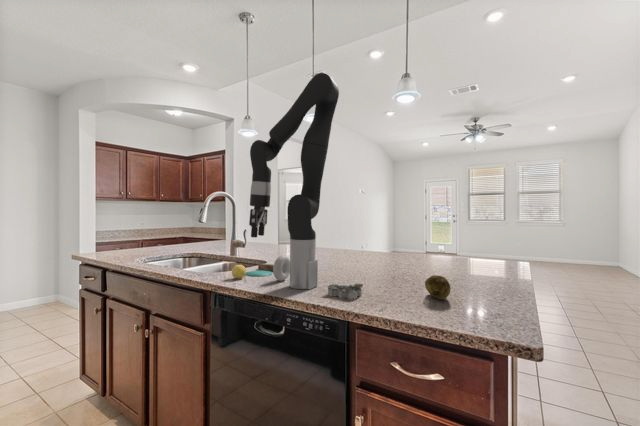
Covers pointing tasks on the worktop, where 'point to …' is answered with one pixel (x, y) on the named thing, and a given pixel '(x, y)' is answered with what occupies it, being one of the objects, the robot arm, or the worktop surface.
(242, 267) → the ball
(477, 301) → the worktop surface
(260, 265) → the stopper strip
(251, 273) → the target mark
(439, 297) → the dark green oval lump
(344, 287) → the egg carton
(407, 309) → the worktop surface
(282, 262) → the donut
